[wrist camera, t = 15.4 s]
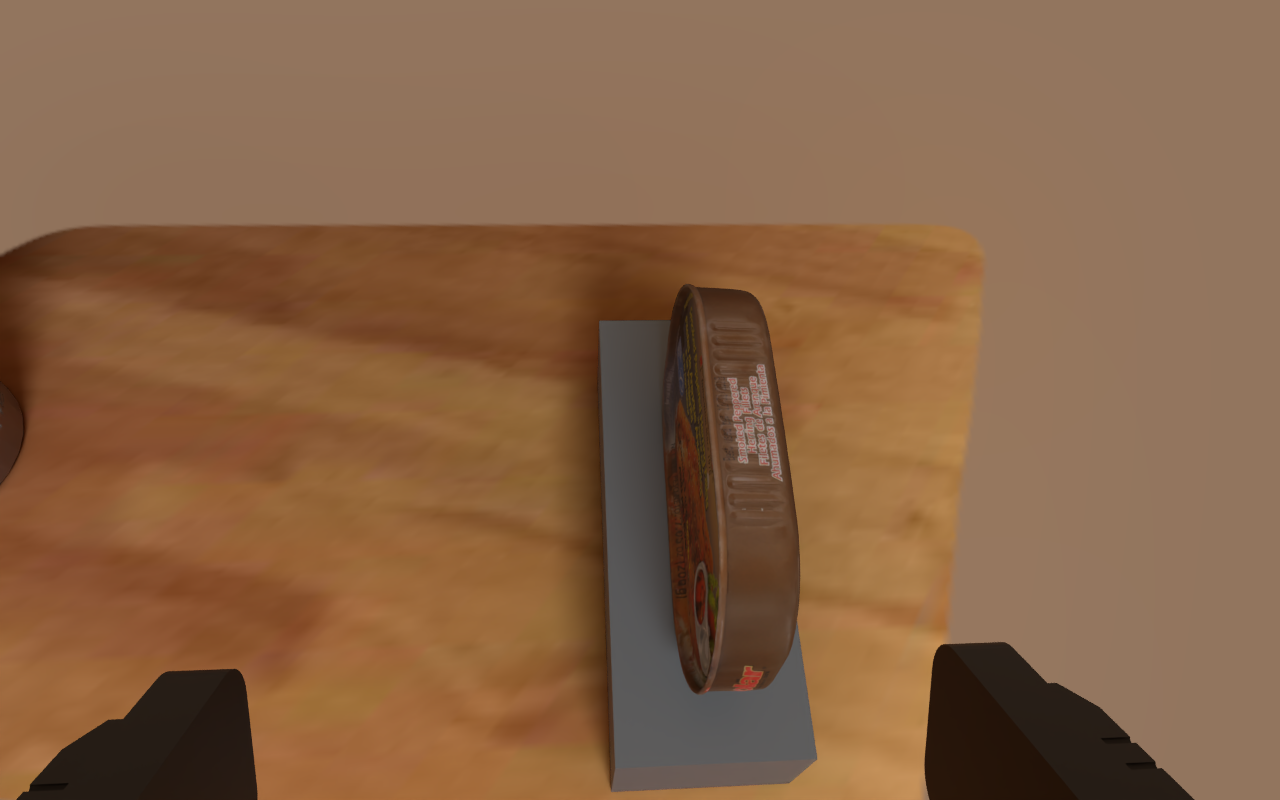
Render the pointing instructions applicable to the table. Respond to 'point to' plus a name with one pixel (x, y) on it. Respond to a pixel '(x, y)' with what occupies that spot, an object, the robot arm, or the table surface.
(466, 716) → the table surface
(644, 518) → the base brick
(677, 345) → the tin
